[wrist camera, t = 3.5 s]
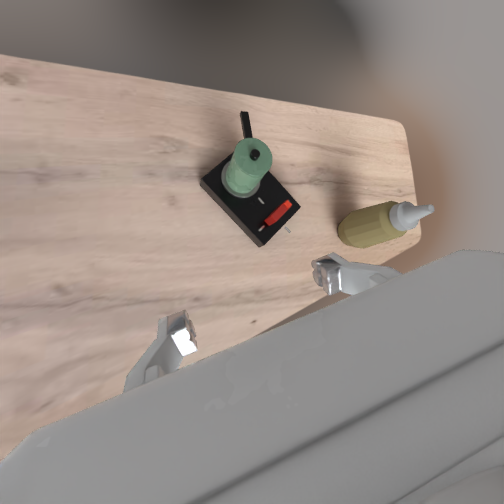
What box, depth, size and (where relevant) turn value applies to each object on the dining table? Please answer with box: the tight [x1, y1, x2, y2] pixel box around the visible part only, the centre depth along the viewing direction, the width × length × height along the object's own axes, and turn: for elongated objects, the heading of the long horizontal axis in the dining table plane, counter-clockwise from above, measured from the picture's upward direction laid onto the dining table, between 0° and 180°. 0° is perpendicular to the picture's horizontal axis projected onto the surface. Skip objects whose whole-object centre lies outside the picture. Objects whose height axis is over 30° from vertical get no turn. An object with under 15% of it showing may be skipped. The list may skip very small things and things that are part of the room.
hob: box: [200, 152, 301, 247], centre depth 44 cm, size 18×11×3 cm, turn 45°
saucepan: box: [226, 111, 272, 193], centre depth 38 cm, size 9×8×8 cm
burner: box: [221, 161, 260, 198], centre depth 42 cm, size 7×7×1 cm
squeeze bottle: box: [338, 201, 434, 248], centre depth 43 cm, size 8×8×18 cm
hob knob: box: [264, 199, 292, 226], centre depth 42 cm, size 4×1×4 cm, turn 135°
